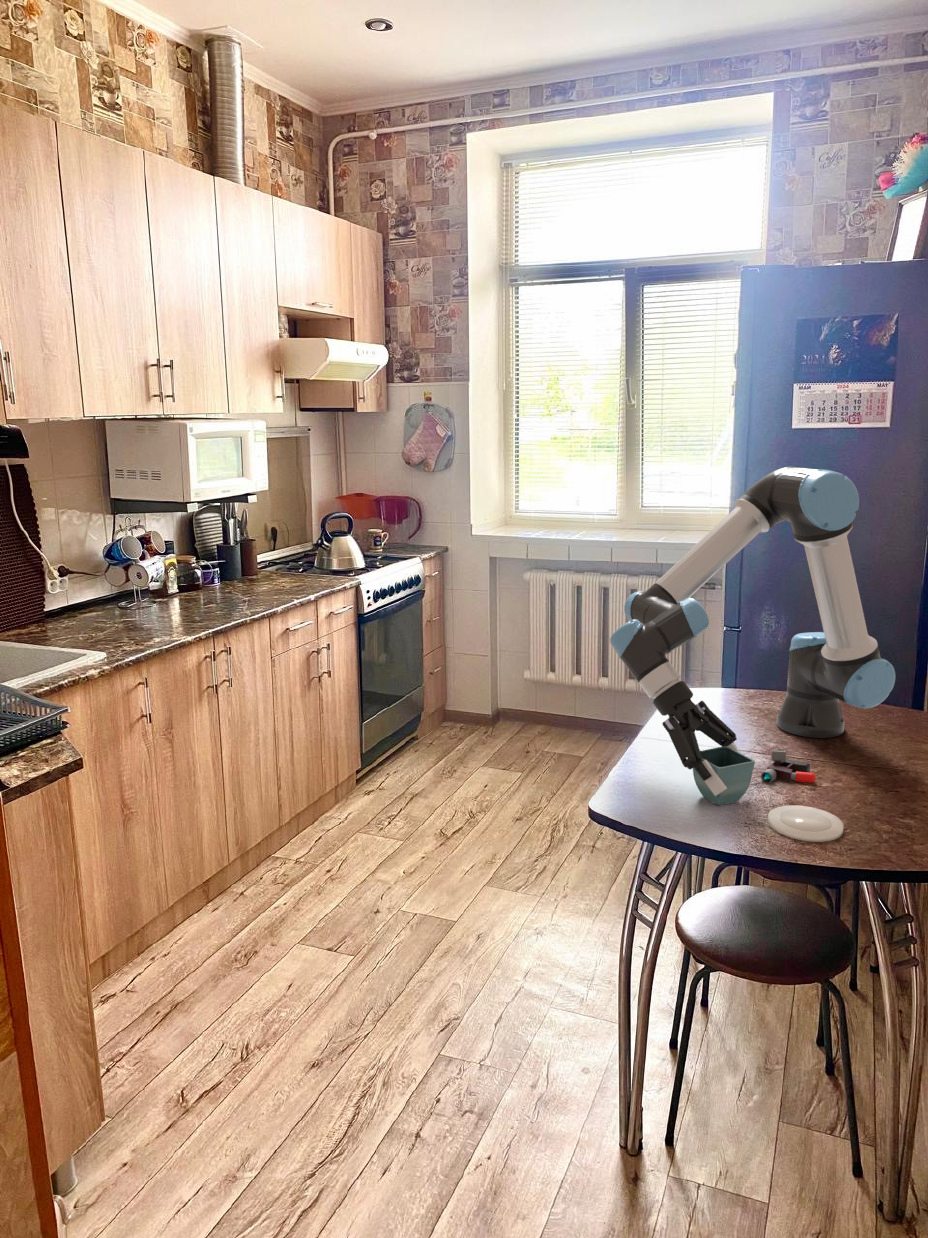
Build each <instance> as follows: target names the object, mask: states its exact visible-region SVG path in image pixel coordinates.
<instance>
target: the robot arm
mask: <svg viewBox="0 0 928 1238" xmlns="http://www.w3.org/2000/svg"><path fill="white" fill-rule="evenodd" d="M859 496H860V495H859V491H858V489H857V487H856V485H855V484H854V482H853V481H852V479H850V478H849V477H848V476H847V475H845V474H843V473H841V472H837V471H834V470H831V469H826V468H820V469H817V468H807V467H799V466H786V467H781V468H778V469H776V470H774V471H772V472H770V473H768V474H766V475H765V476H763V477H762V478H761V479H759V480H758V481H757V482H755V483H754V484H752V485H751V487H749V488H748V489H747V490H746V491H745V492H743V493H742V495H740V496H739V497H738V499H736V500H735V502H734V505H735V506H734V508H733V509H732V510H731V511H730V512H729V513H728V514H726V516H724V517H723V518H722V520H720V522H719V523H717V524H716V525H715V526H714V527H713V528H712V529H711V530H710V531H709V532H708V533H706V535H705V536H703V538H701V539H700V540H699V541H698V542H697V543H696V544H695V545H693V547H692V548H690V550H689V551H688V552H686V553H685V554H684V555H683V556H682V557H681V558H680V559H679V560H678V561H677V562H676V563H675V564H674V565H672V567H671V568H670V569H668V570H667V571H666V572H665V573H664V574H663V575H661V576H660V577H659V579H657V581H656V582H655V583H653V584H652V585H651V586H650V587H649V588H648V589H646V591H645V590H643V591H642V590H640V591H635V592H632V593H631V594H630V595H629V596H628V597H627V599H626V600H625V602H624V605H623V606H624V607H623V609H624V614H625V617H626V619H627V620H628V621H627V622H625V623H624V624H622V625H621V626H620V627H618V628H617V629H616V630H614V632H613V633H612V634H611V635H610V639H609V642H610V645H611V646H612V648H613V650H614V651H615V653H616V654H617V655H618V658H619V660H621V661H622V663H623V664H624V665H625V666H626V668H627V670H628V671H629V672H630V674H632V676H633V677H634V679H635V680H636V681H637V683H638V684H639V685H640V687H641V689H642V690H643V692H644V693H646V695H647V696H648V698H649V699H653V700H652V704H653V705H654V707H655V709H656V710H657V711H658V712H659V714H660V715H662V716H665V717H666V716H668V718H667V719H666V720H664V721H663V722H662V727H663V728H664V729H665V730H666V732H667V733H668V735H669V738H670V740H671V742H672V744H673V746H674V748H675V750H676V753H677V754H678V757H679V760H680V762H681V764H682V765H683V767H684V768H687V769H688V770H693V767H694V768H695V770H696V771H697V772H698V774H699V775H700V776H701V778H702V779H703V780H704V781H705V783H706V784H707V785H708V787H709V788H710V790H711V791H712V792H713V794H714V795H715V796H716V795H718V794H719V793H721V792H722V791H724V790H725V789H727V787H726V786H725V785H724V783H723V782H722V780H721V779H720V778H719V776H718V775H717V774H716V772H715V771H714V770H713V768H712V767H711V765H710V764H709V763H708V761H707V760H704V761H703V760H702V756H701V753H700V751H701V750H700V746H699V743H698V740H697V736H696V733H695V732H697V731H698V732H701V733H703V734H704V735H706V736H707V737H708V738H709V739H711V740H712V741H713V742H715V743H717V744H718V745H719V746H720V747H722V746H727V747H729V748H731V749H733V750H735V751H737V752H739V753H741V754H743V753H742V752H741V751H740V749H739V748H738V747H737V745H736V744H735V741H737V734H736V733H735V732H734V731H733V730H732V729H731V728H730V727H729V726H728V725H727V724H726V723H725V722H723V720H722V719H720V717H718V716H717V715H716V713H714V712H713V711H712V710H711V709H710V708H709V706H708V705H707V704H706V703H705V701H704V700H700V701H699V702H697V704H695V703H694V702H693V701H692V698H693V696H694V693H693V692H692V690H691V689H690V687H689V686H688V685H687V683H686V681H683V680H681V679H682V678H681V677H682V676H681V675H680V674H679V672H678V671H677V670H676V669H675V667H674V666H673V664H672V663H671V662H670V660H669V659H668V658H667V655H668V654H670V653H671V652H673V651H675V650H676V649H678V648H679V647H681V646H683V645H684V644H686V643H688V642H689V641H691V640H692V639H694V638H696V637H698V635H699V634H701V633H702V632H704V631H705V630H706V629H708V627H709V624H710V621H709V616H708V614H707V612H706V610H705V608H704V607H703V606H702V604H701V603H700V602H699V601H698V600H696V599H694V598H692V596H693V595H694V594H696V592H697V591H699V590H700V589H701V588H702V587H703V586H704V585H706V583H707V582H709V581H710V579H711V578H712V577H713V576H714V575H716V574H717V573H718V572H719V571H720V570H721V569H722V568H724V566H726V564H728V563H729V562H730V561H731V560H732V559H733V558H734V557H735V556H736V555H737V554H738V553H739V552H741V550H742V549H743V548H745V547H746V546H747V545H748V544H750V542H751V541H752V540H753V539H754V538H755V537H756V536H757V535H759V533H767V532H768V531H770V530H771V529H772V528H773V527H774V526H776V525H777V524H779V523H781V522H782V523H783V522H788V523H790V526H791V529H792V535H793V537H794V541H796V542H797V543H799V544H801V545H803V546H804V551H805V555H806V559H807V564H808V568H809V572H810V577H811V581H812V586H813V589H814V590H813V591H814V595H815V599H816V603H817V607H818V611H819V613H818V614H819V617H820V620H821V625H822V629H823V630H822V631H815V632H814V631H813V632H811V631H810V632H801V633H797V634H795V635H793V637H792V638H791V640H790V641H791V642H790V646H789V650H788V652H789V657H788V670H787V686H786V693H785V696H784V700H782V705H781V707H780V710H779V711H778V713H777V715H776V723H775V725H776V726H777V728H779V729H780V730H782V731H784V732H786V733H789V734H792V735H796V736H800V737H804V738H814V739H817V738H818V739H828V738H829V739H830V738H835V737H839V736H841V735H842V734H844V732H845V731H844V730H845V719H844V716H843V711H842V707H841V704H840V701H841V702H843V703H846V704H847V705H849V706H851V707H853V706H854V707H856V708H859V709H872V708H874V707H877V706H878V705H880V704H881V703H883V702H884V701H885V700H886V699H887V698H888V696H890V693H891V692H892V691H893V689H894V686H895V682H896V671H895V667H894V666H893V664H891V662H889V661H888V660H887V659H885V658H881V654H880V649H879V645H878V641H877V640H876V638H874V637H872V635H871V636H870V635H869V633H868V630H867V629H868V627H867V625H866V620H865V619H866V618H865V613H864V610H863V606H862V601H861V595H860V592H859V587H858V582H857V577H856V572H855V567H854V563H853V558H852V553H851V551H850V545H849V540H848V539H849V538H848V535H849V534H850V532H851V530H852V529H853V526H854V524H853V521H854V520H855V519H856V516H857V514H856V512H857V511H859V508H860V497H859ZM702 761H703V762H702Z"/></svg>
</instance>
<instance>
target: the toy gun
mask: <svg viewBox="0 0 928 1238" xmlns="http://www.w3.org/2000/svg"><path fill="white" fill-rule="evenodd" d="M770 759H771V761H773V762H772V763H771V764H769V765H768V766H767V768H766V770H764V771H762V773H761V775H760V779H761V781H763V782H765V781H767V780H770V781H769V783H772V782H773V781H775V780H776V779H777V780H779V781H780V780H781V781H784V782H789V783H790V782H791V781H792V780H794V781H795V782H797V783H809V784H813V783H815V781H816V780H817V777H816V775H815V773H814V772H810V770H811V764H810V763H809V762H804V761H803V762H802V761H797V760H796V761H795V760H791V759H788V758H787V751H786V750H773V749H772V750H771V758H770Z"/></svg>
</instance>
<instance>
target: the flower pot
mask: <svg viewBox="0 0 928 1238" xmlns="http://www.w3.org/2000/svg"><path fill="white" fill-rule="evenodd" d="M700 753H701V756H702V760H703V761H704V760H707V761H708V763H709V764H710V765H711V767H712V768H713V770H714V771H715V772H716V774H717V775H718V776H719V778H720V779H721V780H722V782H723V783H724V785H725V786H726V787H727V789H725V790H724V791H722V792H721V793H719V794H718V795H716V796H715V795H714V794H713V792H712V791H711V790H710V788H709V787H708V785H707V784H706V783H705V781H704V780H703V779H702V778H701V776H700V775H699V774H698V772H697V771H696V770H695V768H694V767H693V768H692V775H693V778H694V783H695V785H696V787H697V789H698V791H699V793H700V794H701V795H702V797H704V799H707V800H708V801H710V802H712V803H713V804H714V805H717V806H722V805H723V806H724V805H727V804H731V803H736V802H739V801H740V799H742V798H743V797H744V796H745V794H746V792H747V791H748V790H749V787H750V784H751V781H752V777H753V773H754V767H755V763H756V761H755V760H754V759H752V758H750V757H749V756H746V755H745V754H743V753H742V752H741V753H742V754H741V753H739V752H737V751H735V750H733V749H731V748H729V747H727V746H718V747H713V748H709V749H703V750H700ZM703 761H702V762H703Z"/></svg>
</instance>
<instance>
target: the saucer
mask: <svg viewBox="0 0 928 1238" xmlns="http://www.w3.org/2000/svg"><path fill="white" fill-rule="evenodd" d="M842 821H843V820H841V819H840V818H839V817H837V816H836V815H835V814H832V813H831V812H828V811H826V810H823V809H821V808H820V809H819V808H817V807H816V808H815V807H811V806H806V805H793V804H791V805H783V806H778V807H775V808H773V809H771V810H770V811H769V812H768V815H767V823H768V825H769V827H770V828H771V829H772V830H773V831H775V832H776V833H779V834H780V835H782V836H785V837H788V838H791V839H794V840H798V841H803V842H810V843H811V842H816V843H823V842H831V841H834V840H837V839H839V838H840V837H841V836H843V833H844V823H843V822H842Z"/></svg>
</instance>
